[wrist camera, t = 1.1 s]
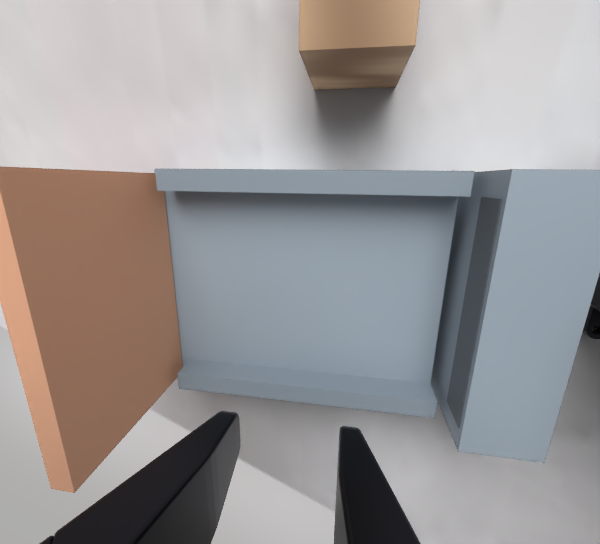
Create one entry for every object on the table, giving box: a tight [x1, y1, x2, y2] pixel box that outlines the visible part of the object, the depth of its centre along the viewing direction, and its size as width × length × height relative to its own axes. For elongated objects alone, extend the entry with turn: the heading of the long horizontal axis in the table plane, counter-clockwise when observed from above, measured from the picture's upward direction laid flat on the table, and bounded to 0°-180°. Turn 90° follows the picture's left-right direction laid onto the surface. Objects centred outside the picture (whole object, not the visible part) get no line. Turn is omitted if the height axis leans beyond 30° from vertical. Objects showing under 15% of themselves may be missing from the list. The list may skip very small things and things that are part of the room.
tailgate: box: [0, 167, 183, 493], centre depth 14 cm, size 1×12×8 cm, turn 0°
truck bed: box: [154, 169, 600, 463], centre depth 16 cm, size 19×12×6 cm, turn 89°
